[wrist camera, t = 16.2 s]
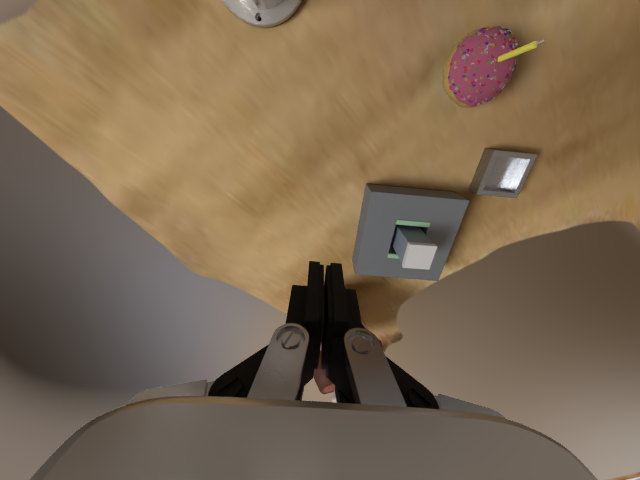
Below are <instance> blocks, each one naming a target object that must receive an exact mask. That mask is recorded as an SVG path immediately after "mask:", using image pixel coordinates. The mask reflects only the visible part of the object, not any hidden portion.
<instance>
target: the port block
mask: <svg viewBox="0 0 640 480" xmlns="http://www.w3.org/2000/svg"><path fill="white" fill-rule="evenodd" d="M469 201H470V200H468V199H466V198H464V197H463V196H461V195H459V194H457V193H456V192H451V191H440V190H429V189H418V188H407V187H397V186H386V185H375V184H366V186H365V192H364V197H363V203H362V209H361V214H360V220H359V225H358V231H357V237H356V242H355V248H354V253H353V259H352V261H353V266H354V271H355V274H356V275H369V276H382V277H395V278H408V279H421V280H433V281H438V280H439V278H440V275H441V272H442V270H443V267H444V265H445V262H446V260H447V257H448V255H449V252H450V249H451V247H452V244H453V242H454V239H455V237H456V234H457V232H458V229H459V227H460V224H461V221H462V219H463V216H464V214H465V211H466V209H467V206H468V204H469ZM396 225H408V226H419V228H420V229H421V230H422V231H423V232H424V233H425V234H426V236H427V237H428V238H429V239H430V240H431V241H432V242H433V244H436V245H437V249H436V252H435V255H434V258H433V261H432V263H431V266H430V269H429V270H427V269H413V268H403V267H402V263H401V261H400V259H399V257H398V256H397V254H396V252H395V250H394V248H393V246H392V244H391V241H392V237H393V233H394V230H395V226H396Z"/></svg>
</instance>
